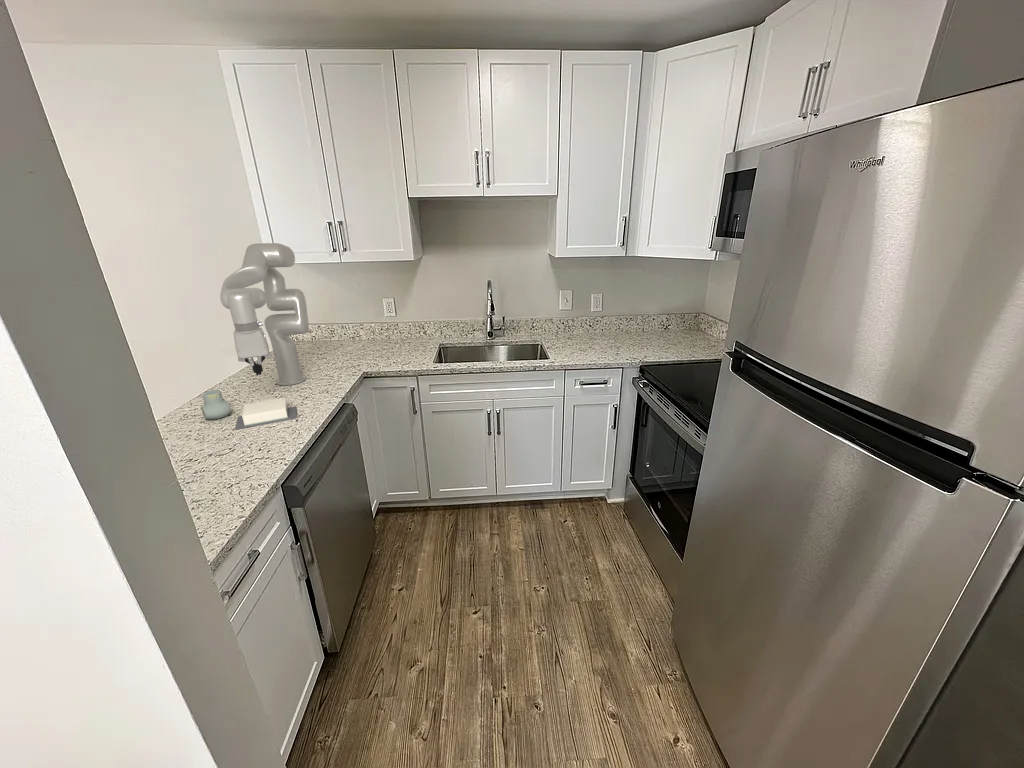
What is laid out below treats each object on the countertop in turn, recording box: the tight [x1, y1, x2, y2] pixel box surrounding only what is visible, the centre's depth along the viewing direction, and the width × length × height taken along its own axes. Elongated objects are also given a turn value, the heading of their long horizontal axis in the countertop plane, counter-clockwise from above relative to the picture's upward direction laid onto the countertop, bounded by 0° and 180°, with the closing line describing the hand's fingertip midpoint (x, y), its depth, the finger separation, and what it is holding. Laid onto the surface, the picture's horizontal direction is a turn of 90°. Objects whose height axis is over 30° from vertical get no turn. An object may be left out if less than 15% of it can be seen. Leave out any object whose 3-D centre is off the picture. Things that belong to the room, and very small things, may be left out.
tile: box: [241, 397, 289, 426], centre depth 160 cm, size 4×14×12 cm
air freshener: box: [200, 389, 232, 421], centre depth 161 cm, size 11×8×10 cm
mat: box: [234, 405, 298, 431], centre depth 160 cm, size 12×20×1 cm, turn 117°
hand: (258, 373), depth 160 cm, fingers closed
